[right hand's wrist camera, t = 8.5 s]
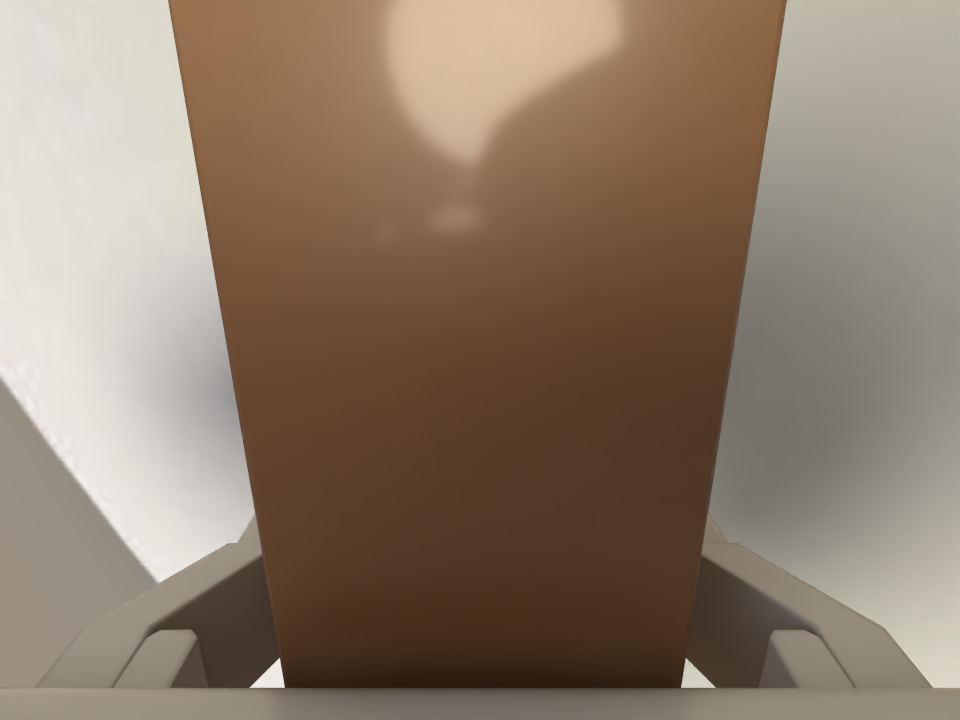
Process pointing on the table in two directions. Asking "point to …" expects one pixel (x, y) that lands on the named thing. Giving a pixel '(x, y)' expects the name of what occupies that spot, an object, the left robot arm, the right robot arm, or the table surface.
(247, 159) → the beam
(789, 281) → the table surface
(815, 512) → the table surface
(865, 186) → the table surface
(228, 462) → the table surface
